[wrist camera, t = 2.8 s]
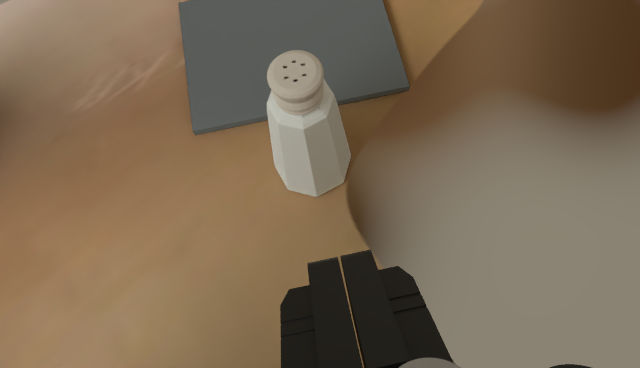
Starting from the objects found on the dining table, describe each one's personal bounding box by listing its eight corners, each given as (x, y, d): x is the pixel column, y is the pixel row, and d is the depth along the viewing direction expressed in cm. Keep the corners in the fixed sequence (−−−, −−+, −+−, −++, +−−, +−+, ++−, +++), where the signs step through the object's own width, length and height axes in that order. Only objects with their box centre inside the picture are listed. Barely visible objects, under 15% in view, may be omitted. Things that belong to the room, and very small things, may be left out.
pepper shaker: (356, 192, 32) (357, 112, 22) (277, 203, 32) (242, 127, 22) (346, 122, 34) (342, 18, 24) (272, 132, 34) (236, 33, 24)
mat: (408, 90, 35) (409, 85, 34) (195, 135, 35) (192, 131, 34) (370, -31, 39) (370, -37, 39) (181, 8, 39) (178, 3, 38)
